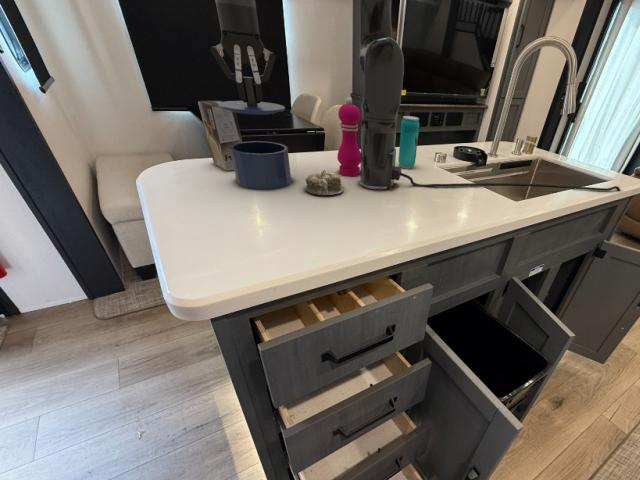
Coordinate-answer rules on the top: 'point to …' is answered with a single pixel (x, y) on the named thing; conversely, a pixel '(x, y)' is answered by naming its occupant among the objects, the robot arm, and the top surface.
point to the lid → (251, 102)
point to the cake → (324, 184)
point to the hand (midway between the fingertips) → (252, 102)
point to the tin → (261, 165)
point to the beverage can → (408, 141)
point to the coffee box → (220, 132)
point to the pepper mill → (349, 140)
